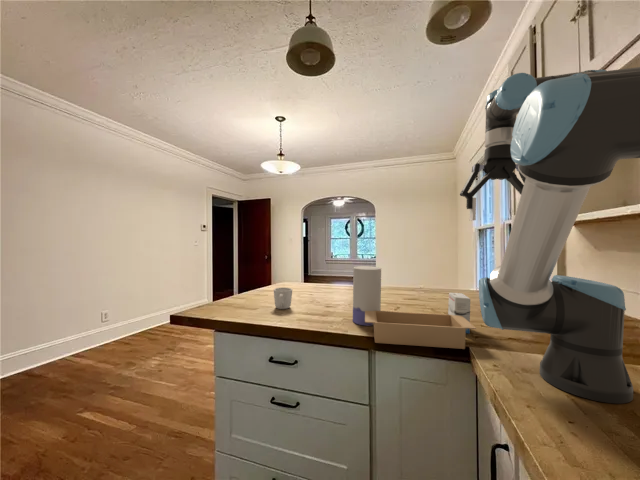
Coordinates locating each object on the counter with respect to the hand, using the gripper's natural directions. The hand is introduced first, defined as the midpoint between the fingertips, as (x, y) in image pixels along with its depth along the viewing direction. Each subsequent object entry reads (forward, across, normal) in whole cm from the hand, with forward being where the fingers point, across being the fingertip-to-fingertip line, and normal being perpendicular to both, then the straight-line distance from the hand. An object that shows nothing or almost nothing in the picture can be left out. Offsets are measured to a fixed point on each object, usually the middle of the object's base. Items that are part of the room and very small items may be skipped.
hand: (497, 220), depth 84 cm
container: (+37, +37, -15) cm, 54 cm away
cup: (+37, +72, -26) cm, 85 cm away
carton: (+37, +22, -2) cm, 43 cm away
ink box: (+37, +6, -13) cm, 40 cm away
